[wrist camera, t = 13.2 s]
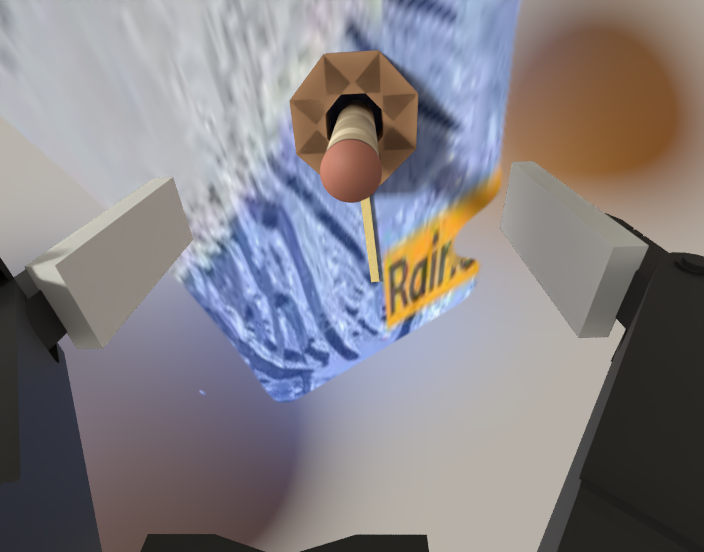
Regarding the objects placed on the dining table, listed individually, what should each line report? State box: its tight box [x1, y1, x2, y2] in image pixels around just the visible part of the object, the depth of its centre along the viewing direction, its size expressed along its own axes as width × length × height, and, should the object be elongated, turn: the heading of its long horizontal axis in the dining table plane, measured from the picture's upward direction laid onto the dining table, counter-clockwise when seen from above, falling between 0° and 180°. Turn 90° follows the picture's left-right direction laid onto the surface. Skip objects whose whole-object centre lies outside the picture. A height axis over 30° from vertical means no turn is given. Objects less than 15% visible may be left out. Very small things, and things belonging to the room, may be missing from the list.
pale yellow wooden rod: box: [361, 197, 379, 282], centre depth 39 cm, size 11×1×1 cm, turn 8°
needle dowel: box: [320, 100, 382, 203], centre depth 26 cm, size 3×3×16 cm
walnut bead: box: [290, 50, 418, 185], centre depth 31 cm, size 10×10×4 cm
